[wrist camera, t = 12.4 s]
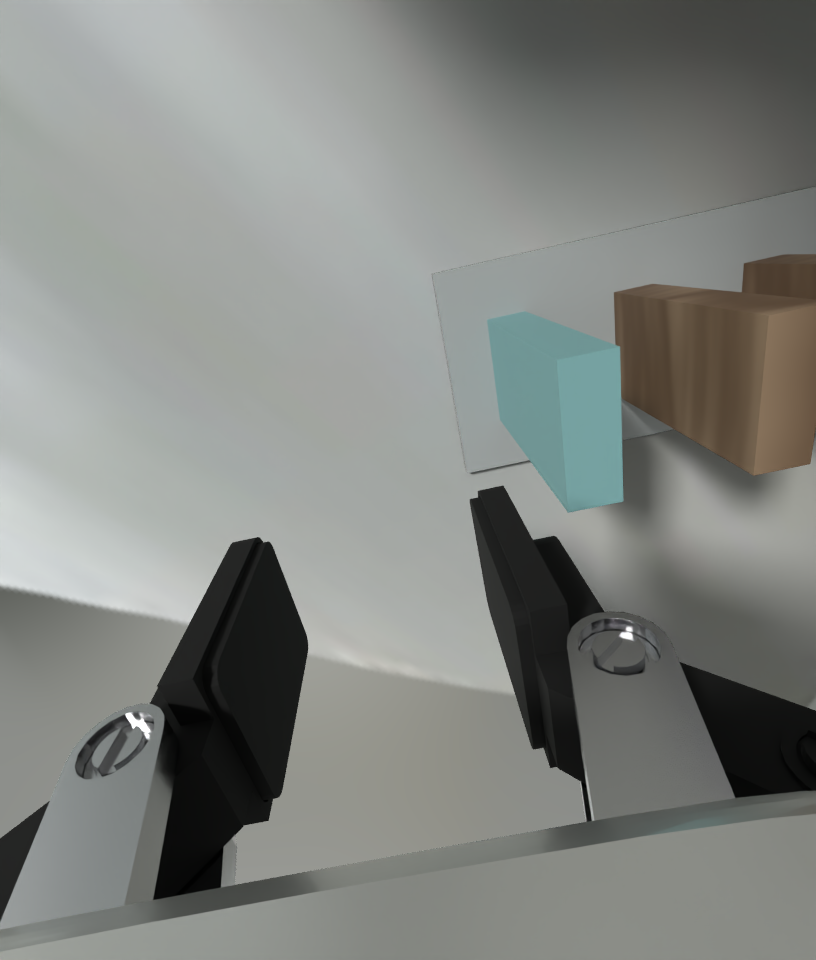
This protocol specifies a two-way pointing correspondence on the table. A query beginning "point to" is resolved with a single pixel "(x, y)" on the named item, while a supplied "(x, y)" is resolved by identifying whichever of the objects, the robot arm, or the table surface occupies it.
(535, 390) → the tile
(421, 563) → the table surface
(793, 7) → the table surface
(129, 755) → the robot arm
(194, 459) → the table surface
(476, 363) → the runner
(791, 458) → the tile
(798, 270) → the tile
